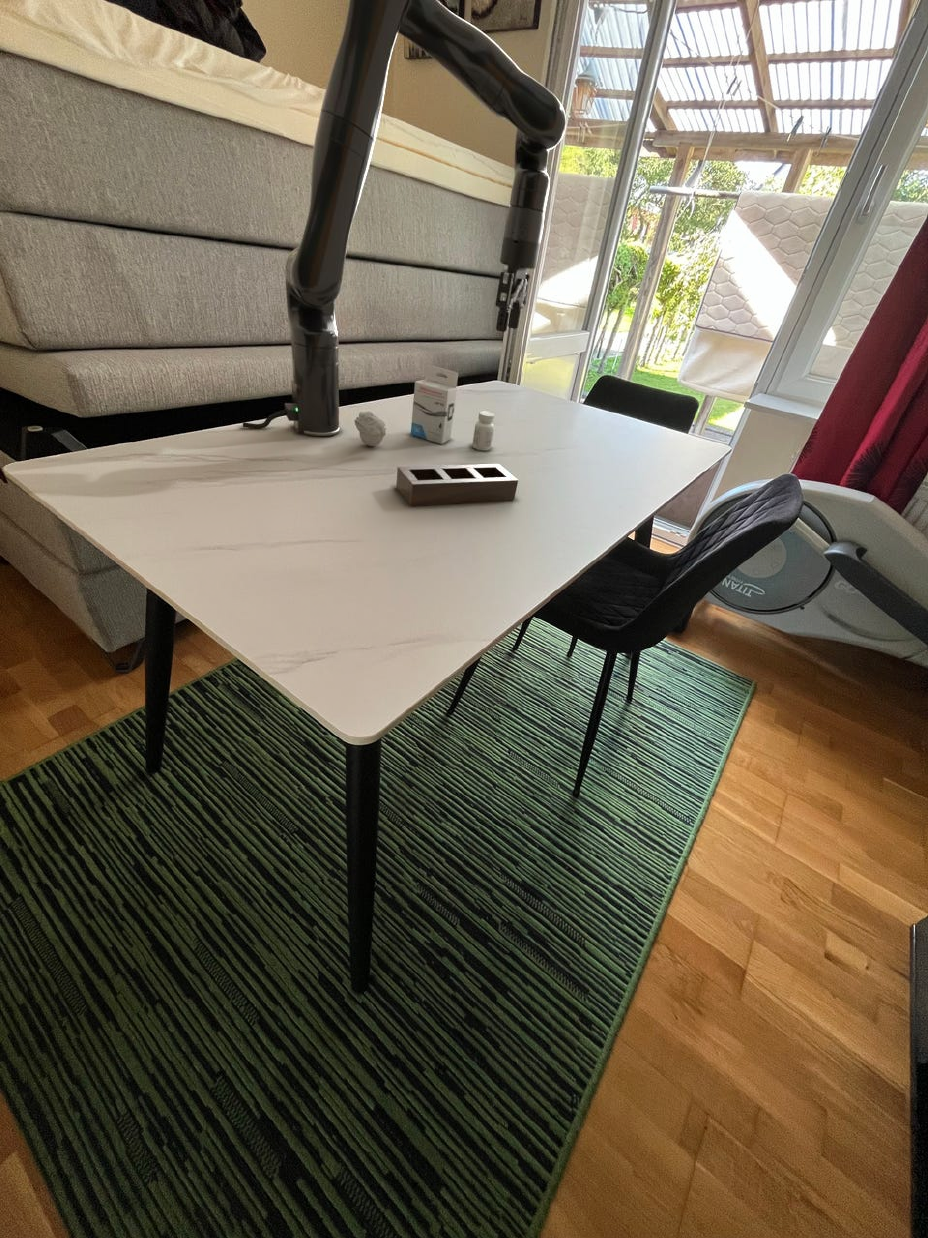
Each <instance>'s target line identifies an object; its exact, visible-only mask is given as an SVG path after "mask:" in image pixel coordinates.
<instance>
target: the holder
mask: <svg viewBox="0 0 928 1238" xmlns="http://www.w3.org/2000/svg"><path fill="white" fill-rule="evenodd" d="M396 468H397V469H396V486H395V487H396V489H397V490H398V492H399V493H400V494H401V495H402V497H403V498H404V500H405V501H406V502H407V503H408V504H409V506H410V507H421V506H435V505H436V506H437V505H454V504H456V505H457V504H471V503H472V504H473V503H486V502H487V503H489V502H490V503H491V502H505V501H515V499H516V493H517V488H518V483H519V479H518V478H516V477H515V476H514V475H513V474H511V473H510V472H509V471H508V470H507V469H506V468H504V467H503V466H502V465H501V464H500V463H487V464H486V463H484V464H483V463H482V464H449V465H448V464H446V465H406V466H404V465H403V466H397V467H396Z"/></svg>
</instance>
